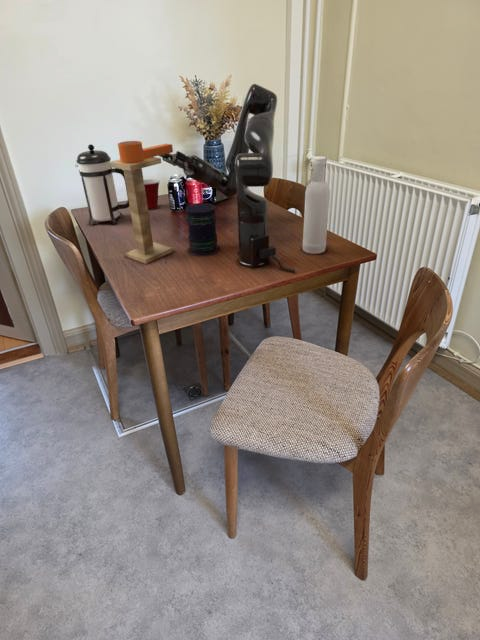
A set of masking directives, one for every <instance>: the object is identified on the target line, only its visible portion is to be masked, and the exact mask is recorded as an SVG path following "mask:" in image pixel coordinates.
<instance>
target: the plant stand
mask: <svg viewBox="0 0 480 640" xmlns="http://www.w3.org/2000/svg"><path fill="white" fill-rule="evenodd" d="M160 164H162V157H158V156H155V157H151V158H146V159H144V160H143V161H141V162H136V163H122V162H121V160H120V159H116V160H110V162H109V165H110V167H112V169H113V168H118V169H122V170H123V171H124V177H125V180H124V184H125V183H126V185H125V189H126V188H127V191H126V195H127V194H128V197H127V201H128V200H129V211H130V217H131V221H132V227H133V234H134V239H135V245H136V248H135V249H132V250H130V251H126V252H125V255H126V258H129V259H132V260H135V261H137V262H140V263H143V264H144V265H145V264H146V265H147V264H149V263H151V262H154V261H155V260H158V259H160V258H162V257H164V256H165V257H166V256H167V255H169V254H171V253H173V248H172V247H170V246H167V245H164V244H161V243H158V242H154V241H153V234H152V228H151V227H152V226H151V221H150V214H149V209H148V206H147V200H146V193H145V187H144V180H145V179H144V174H143V173H144V172H143V169H144V168H149V167H153V166H156V165H160ZM124 177H123V178H124Z"/></svg>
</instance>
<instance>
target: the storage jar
mask: <svg viewBox="0 0 480 640" xmlns="http://www.w3.org/2000/svg"><path fill="white" fill-rule="evenodd" d="M185 219H186V225H187V228H188V237H187V239H188V246H189V252H190V253H191V254H192V255H194V256H210V255H213V254H215V253H216V252H217V251H218V234H217V231H216V230H217V229H216V224H217V216H216V206H215V205H214V204H213V203H209V202H199V203H198V202H197V203H192V204H189V205H187V206H186V207H185Z"/></svg>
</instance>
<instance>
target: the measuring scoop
mask: <svg viewBox="0 0 480 640" xmlns="http://www.w3.org/2000/svg"><path fill="white" fill-rule="evenodd" d="M117 149H118V154H119V160H121V162H122V163H136V162H141V161H143V160H144V159H146V158H151V157H160V156H159V155H163V154H167V153H170V154H172V153H174V149H173V144H172V143H162V144H157V145H153V146H149V147H144V148H143V142H142V141H140V140H125V141H121V142H118V143H117Z"/></svg>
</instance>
